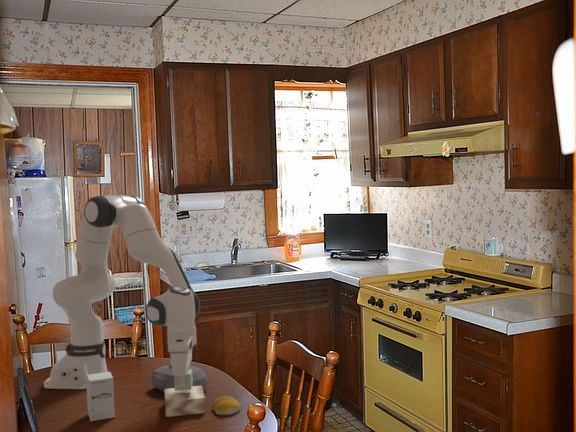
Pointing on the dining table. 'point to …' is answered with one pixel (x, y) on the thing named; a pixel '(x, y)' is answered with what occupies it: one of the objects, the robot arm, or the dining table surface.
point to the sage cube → (187, 381)
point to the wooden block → (184, 401)
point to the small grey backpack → (165, 378)
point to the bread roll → (226, 406)
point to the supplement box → (100, 396)
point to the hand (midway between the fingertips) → (183, 382)
